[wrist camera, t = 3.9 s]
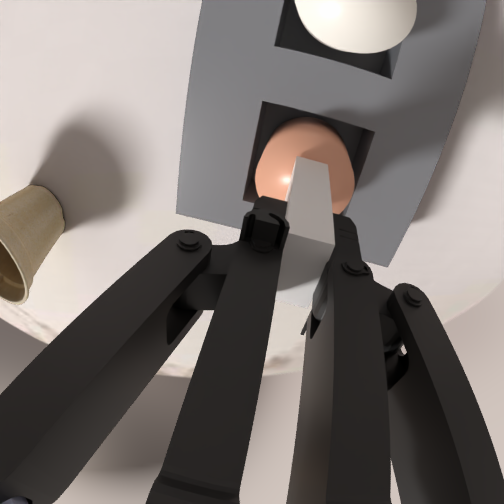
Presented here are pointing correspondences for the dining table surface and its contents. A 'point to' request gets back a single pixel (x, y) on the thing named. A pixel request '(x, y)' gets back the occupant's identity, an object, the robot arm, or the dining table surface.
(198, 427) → the robot arm
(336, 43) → the ivory key
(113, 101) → the dining table surface
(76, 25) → the dining table surface
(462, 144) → the dining table surface
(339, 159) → the terracotta key
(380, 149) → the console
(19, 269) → the flower pot
